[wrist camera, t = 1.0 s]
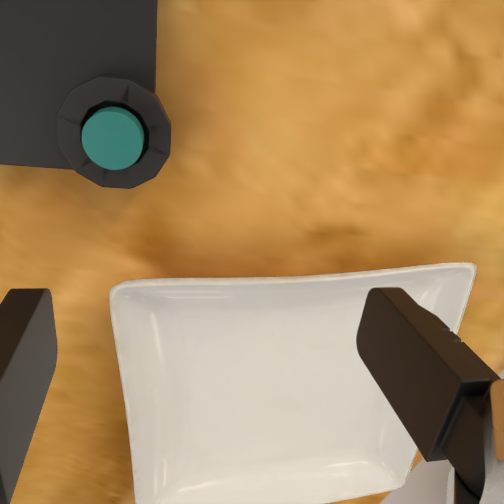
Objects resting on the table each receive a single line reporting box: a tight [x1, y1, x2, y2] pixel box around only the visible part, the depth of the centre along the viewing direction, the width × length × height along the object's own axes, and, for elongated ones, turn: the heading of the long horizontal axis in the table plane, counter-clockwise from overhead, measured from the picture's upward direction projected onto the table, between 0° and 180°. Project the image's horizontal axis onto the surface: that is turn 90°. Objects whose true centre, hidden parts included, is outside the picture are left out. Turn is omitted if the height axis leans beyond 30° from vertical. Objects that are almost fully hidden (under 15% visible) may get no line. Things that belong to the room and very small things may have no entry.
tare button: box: [82, 107, 144, 170], centre depth 22 cm, size 3×3×2 cm
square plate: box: [109, 262, 477, 504], centre depth 35 cm, size 27×27×4 cm
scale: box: [0, 0, 171, 189], centre depth 21 cm, size 14×13×3 cm
